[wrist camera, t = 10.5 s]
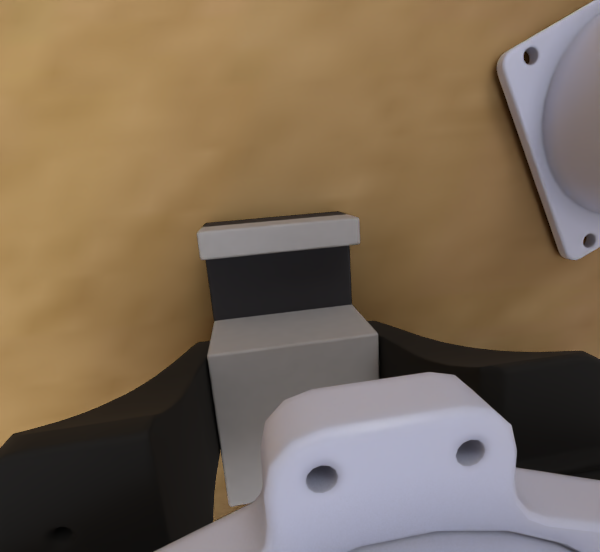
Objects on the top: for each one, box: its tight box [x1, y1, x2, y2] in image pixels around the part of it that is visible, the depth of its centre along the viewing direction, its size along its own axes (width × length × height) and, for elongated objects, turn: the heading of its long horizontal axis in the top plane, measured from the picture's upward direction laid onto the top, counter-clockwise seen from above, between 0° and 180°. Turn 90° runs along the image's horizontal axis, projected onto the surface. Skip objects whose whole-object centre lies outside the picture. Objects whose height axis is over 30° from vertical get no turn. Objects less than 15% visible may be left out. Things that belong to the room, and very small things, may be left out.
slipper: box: [197, 211, 379, 507], centre depth 12 cm, size 8×5×4 cm, turn 4°
